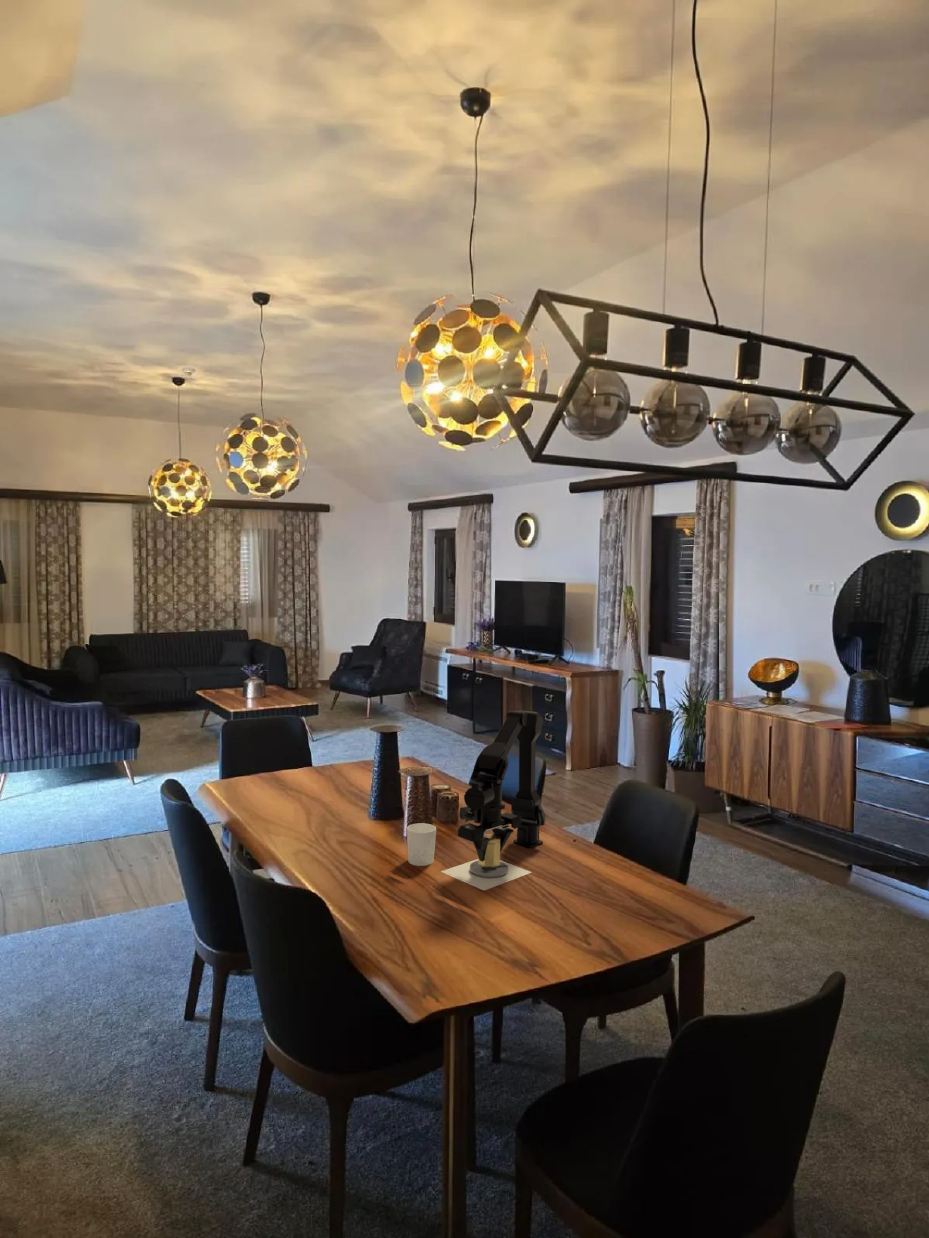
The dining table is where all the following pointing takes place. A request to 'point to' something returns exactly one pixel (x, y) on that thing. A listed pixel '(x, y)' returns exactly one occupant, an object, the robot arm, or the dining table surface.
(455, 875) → the board
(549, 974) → the dining table surface
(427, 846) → the white cup
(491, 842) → the brown and gold cylinder
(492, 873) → the metal disc with knob
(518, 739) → the robot arm
